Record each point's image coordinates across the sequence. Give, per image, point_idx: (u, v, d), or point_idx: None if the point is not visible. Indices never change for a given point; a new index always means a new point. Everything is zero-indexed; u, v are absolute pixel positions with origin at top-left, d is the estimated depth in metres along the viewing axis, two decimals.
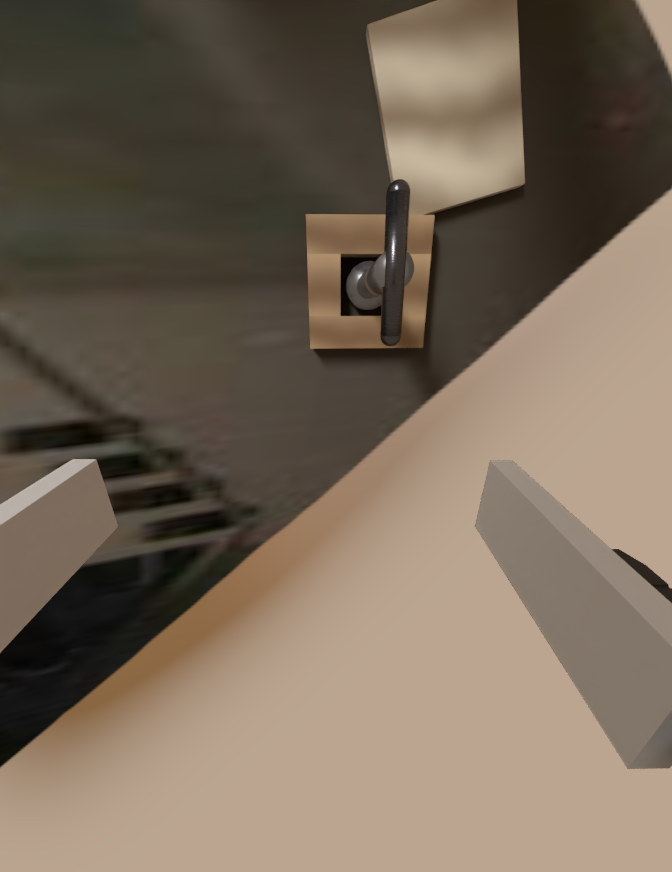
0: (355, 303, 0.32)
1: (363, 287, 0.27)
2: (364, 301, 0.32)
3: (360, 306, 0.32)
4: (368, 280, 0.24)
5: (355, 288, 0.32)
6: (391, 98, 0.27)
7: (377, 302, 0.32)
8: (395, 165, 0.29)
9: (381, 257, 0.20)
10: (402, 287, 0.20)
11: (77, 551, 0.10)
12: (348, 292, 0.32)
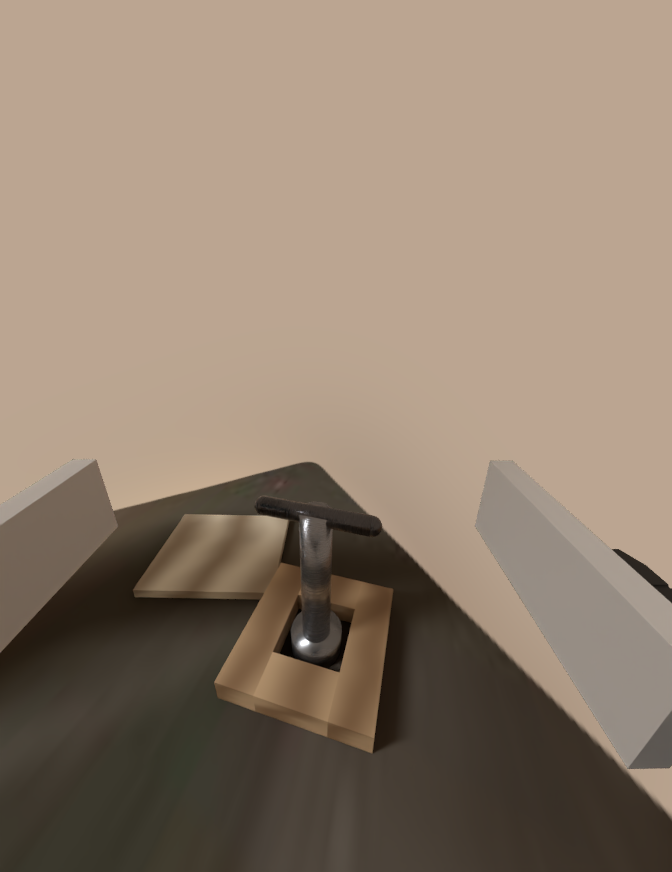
0: (329, 648, 0.26)
1: (317, 601, 0.24)
2: (331, 637, 0.27)
3: (335, 643, 0.26)
4: (314, 565, 0.23)
5: (314, 644, 0.26)
6: (186, 583, 0.33)
7: (336, 623, 0.28)
8: (230, 588, 0.32)
9: (302, 518, 0.22)
10: (331, 508, 0.23)
11: (77, 551, 0.10)
12: (315, 654, 0.26)
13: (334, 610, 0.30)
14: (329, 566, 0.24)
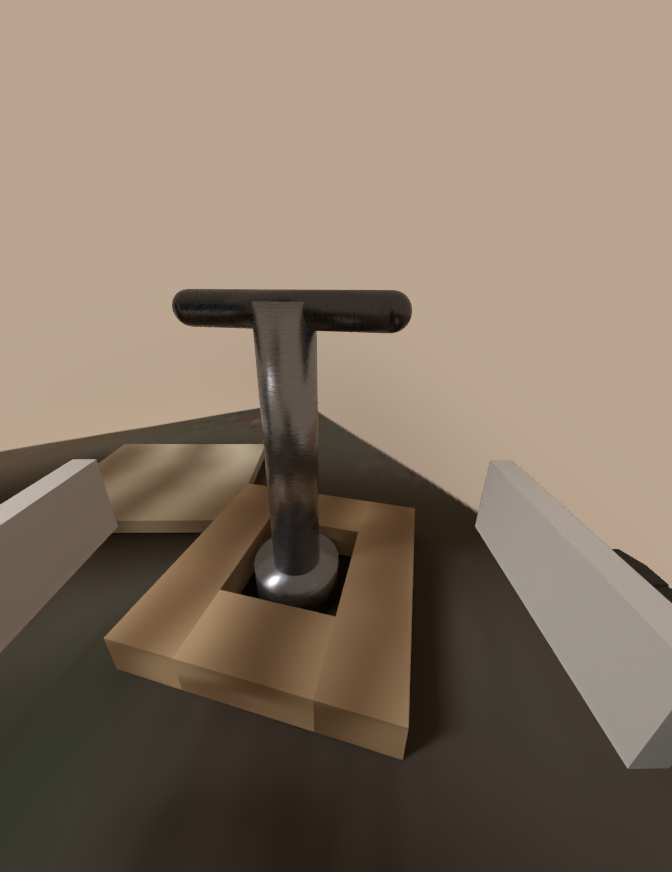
0: (318, 583, 0.15)
1: (294, 490, 0.14)
2: (321, 567, 0.16)
3: (327, 576, 0.16)
4: (284, 409, 0.12)
5: (292, 578, 0.16)
6: None
7: (329, 550, 0.17)
8: (169, 516, 0.21)
9: None
10: None
11: (77, 551, 0.10)
12: (293, 591, 0.15)
13: None
14: (313, 421, 0.13)
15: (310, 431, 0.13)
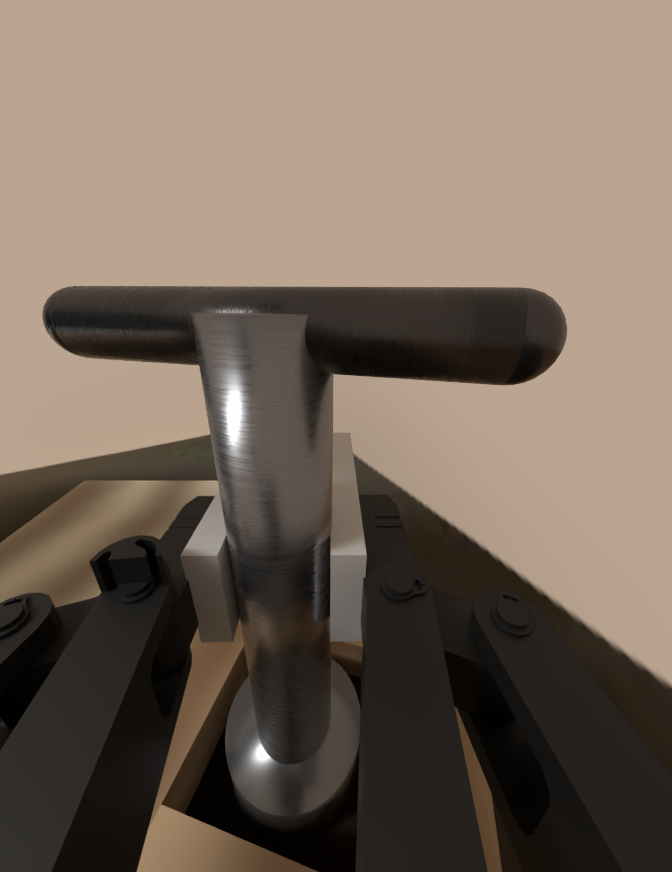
0: (330, 784, 0.09)
1: (288, 656, 0.07)
2: (333, 742, 0.10)
3: (345, 765, 0.09)
4: (267, 532, 0.06)
5: (285, 770, 0.09)
6: None
7: (345, 697, 0.11)
8: None
9: (200, 313, 0.05)
10: None
11: None
12: (288, 809, 0.09)
13: (340, 655, 0.13)
14: (324, 539, 0.07)
15: (319, 558, 0.07)
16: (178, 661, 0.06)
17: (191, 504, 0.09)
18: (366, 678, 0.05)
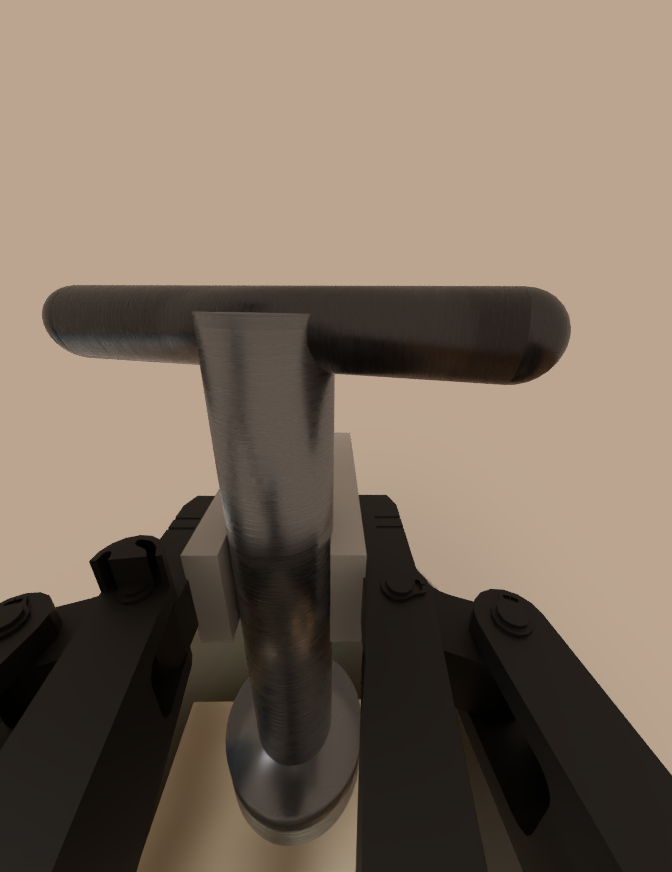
0: (331, 785, 0.09)
1: (289, 657, 0.07)
2: (334, 743, 0.10)
3: (346, 766, 0.09)
4: (268, 532, 0.06)
5: (286, 771, 0.09)
6: None
7: (346, 698, 0.11)
8: None
9: (201, 312, 0.05)
10: None
11: None
12: (289, 810, 0.09)
13: None
14: (326, 539, 0.07)
15: (320, 559, 0.07)
16: (178, 661, 0.06)
17: (191, 504, 0.09)
18: (366, 678, 0.05)
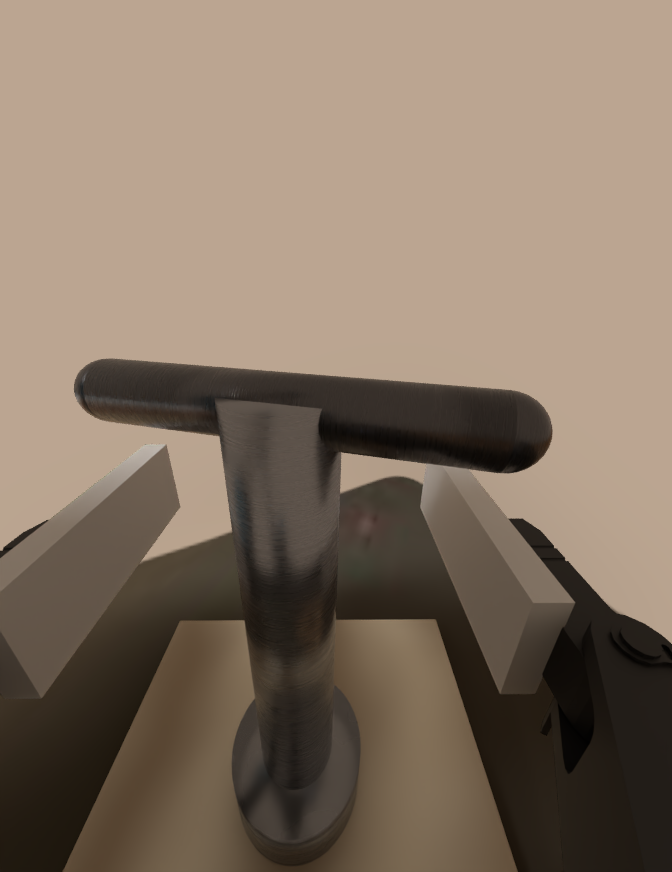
0: (332, 810, 0.10)
1: (295, 695, 0.08)
2: (334, 768, 0.10)
3: (345, 791, 0.10)
4: (279, 590, 0.07)
5: (289, 796, 0.10)
6: None
7: (346, 722, 0.12)
8: None
9: (224, 404, 0.05)
10: None
11: (154, 525, 0.11)
12: (292, 834, 0.09)
13: None
14: (331, 590, 0.07)
15: (325, 608, 0.07)
16: None
17: (32, 530, 0.08)
18: (616, 741, 0.04)
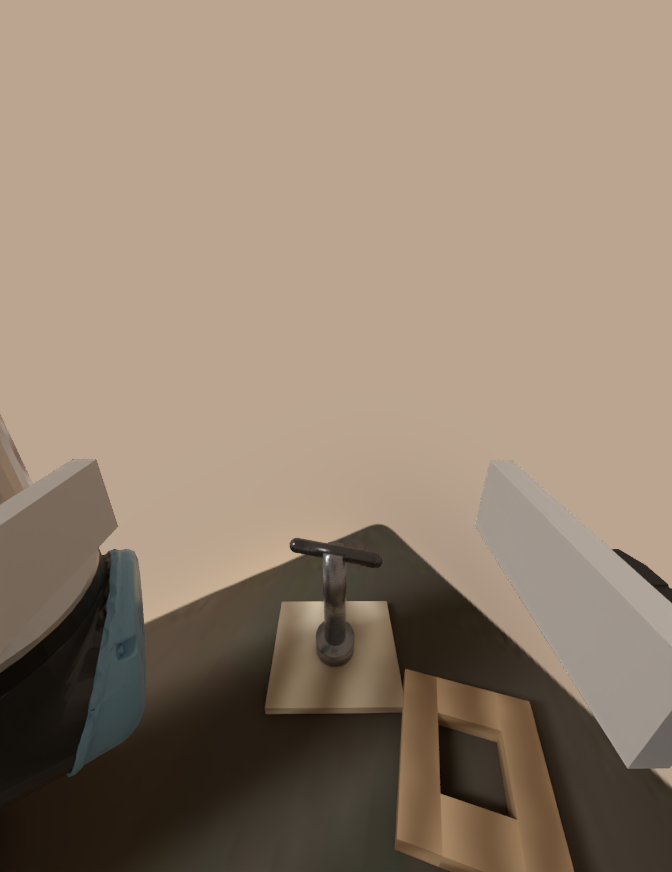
0: (346, 649, 0.35)
1: (336, 614, 0.33)
2: (346, 641, 0.35)
3: (349, 646, 0.35)
4: (334, 588, 0.32)
5: (334, 647, 0.35)
6: (315, 696, 0.32)
7: (350, 631, 0.37)
8: (361, 702, 0.32)
9: (325, 555, 0.31)
10: (346, 547, 0.31)
11: (77, 551, 0.10)
12: (335, 654, 0.34)
13: (477, 729, 0.30)
14: (344, 588, 0.32)
15: (343, 592, 0.32)
16: None
17: None
18: None
